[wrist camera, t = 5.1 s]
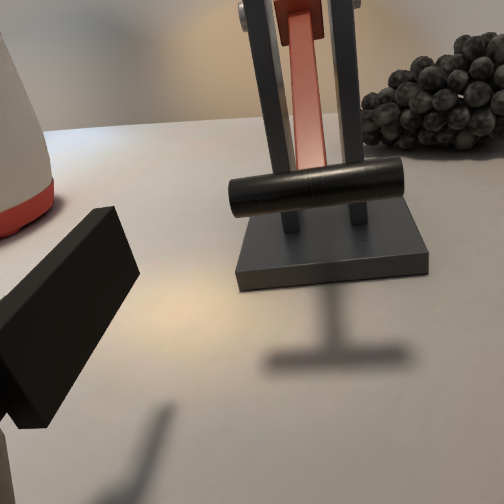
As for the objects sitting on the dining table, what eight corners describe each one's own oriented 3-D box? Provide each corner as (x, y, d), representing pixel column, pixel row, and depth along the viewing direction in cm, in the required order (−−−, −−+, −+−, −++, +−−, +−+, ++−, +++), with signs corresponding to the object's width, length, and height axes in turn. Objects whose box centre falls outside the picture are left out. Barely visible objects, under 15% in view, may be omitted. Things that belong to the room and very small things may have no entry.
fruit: (327, 50, 36) (544, 10, 28) (357, 64, 43) (538, 36, 35) (328, 156, 38) (533, 146, 30) (357, 154, 45) (529, 145, 37)
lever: (402, 213, 15) (407, 168, 14) (240, 232, 17) (223, 193, 15) (356, 0, 23) (355, -49, 21) (246, 24, 24) (236, -21, 22)
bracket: (429, 273, 22) (431, -83, 15) (239, 291, 24) (160, -17, 17) (391, 185, 32) (382, -51, 25) (260, 202, 34) (217, -12, 27)
